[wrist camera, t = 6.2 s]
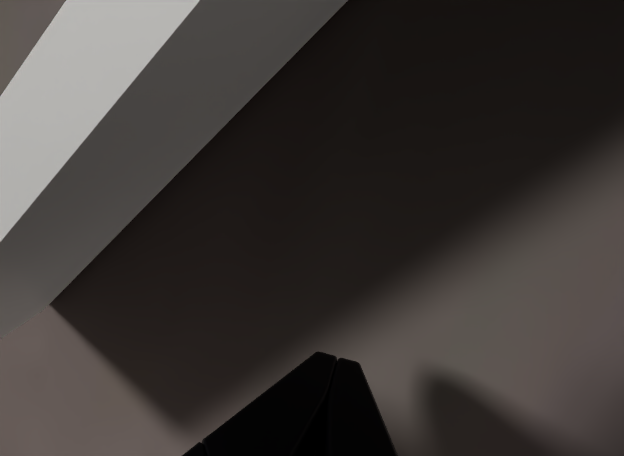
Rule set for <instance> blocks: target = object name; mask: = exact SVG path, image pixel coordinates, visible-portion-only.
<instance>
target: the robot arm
mask: <svg viewBox="0 0 624 456" xmlns="http://www.w3.org/2000/svg"><path fill="white" fill-rule="evenodd" d="M314 455H315V456H398V455H397V452H396V450H395V448H394V445H393V443H392V440H391V438H390V435H389V433H388V431H387V428H386V426H385V423H384V421H383V419H382V416H381V414H380V411H379V409H378V406H377V404H376V402H375V399H374V397H373V394H372V392H371V390H370V387H369V385H368V382H367V380H366V377H365V375H364V373H363V370H362V368H361V365H360V364H359V363H358V362H355V361H352V360H348V359H344V358H339V359H338V361H337V357H336V356H333V355H330V354H326V353H323V352H316V353H314V354H313V355H312V356H310V357H309V358H308V359H307V360H305V361H304V362H303V363H301V364H300V365H299V366H297V367H296V368H295V369H294V370H292V371H291V372H290V373H288V374H287V375H286V376H285V377H283V378H282V379H281V380H279V381H278V382H277V383H276V384H274V385H273V386H272V387H270V388H269V389H268V390H266V391H265V392H264V393H263V394H261V395H260V396H259V397H257V398H256V399H255V400H254V401H252V402H251V403H250V404H248V405H247V406H246V407H245V408H243V409H242V410H241V411H239V412H238V413H237V414H235V415H234V416H233V417H232V418H230V419H229V420H228V421H226V422H225V423H224V424H223V425H221V426H220V427H219V428H217V429H216V430H215V431H213V432H212V433H211V434H210V435H208V436H207V437H206V438H204V439H203V440H202V443H201V442H199V443H198V444H196V445H195V446H194V447H192V448H191V449H190V450H189V451H187V452H186V453H185V454H184V455H182V456H314Z"/></svg>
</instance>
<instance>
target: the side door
mask: <svg viewBox="0 0 624 456" xmlns="http://www.w3.org/2000/svg"><path fill="white" fill-rule="evenodd" d="M347 1H348V0H66V2H65V3H64V4H63V6H62V7H61V9H60V10H59V12H58V13H57V15H56V16H55V18H54V19H53V20H52V22H51V23H50V25H49V26H48V28H47V29H46V31H45V32H44V34H43V35H42V37H41V38H40V39H39V41H38V42H37V44H36V45H35V47H34V48H33V50H32V51H31V53H30V54H29V56H28V57H27V58H26V60H25V61H24V63H23V64H22V66H21V67H20V69H19V70H18V72H17V73H16V75H15V76H14V77H13V79H12V80H11V82H10V83H9V85H8V86H7V88H6V89H5V91H4V92H3V94H2V95H1V96H0V339H2V338H3V337H5V336H6V335H8V334H9V333H11V332H12V331H14V330H15V329H17V328H18V327H20V326H21V325H23V324H24V323H26V322H27V321H28V320H30V319H31V318H33V317H34V316H36V315H37V314H39V313H40V312H42V311H43V310H44V309H45V308H46V307H47V306H48V305H49V304H50V303H51V302H52V301H53V300H54V299H55V298H56V297H57V296H58V295H59V294H60V293H61V292H62V291H63V290H64V289H65V288H66V287H67V286H68V285H69V284H70V283H71V282H72V281H73V280H74V279H75V278H76V277H77V275H78V274H79V273H80V272H81V271H82V270H83V269H84V268H85V267H86V266H87V265H88V264H89V263H90V262H91V261H92V260H93V259H94V258H95V257H96V256H97V255H98V254H99V253H100V252H101V251H102V250H103V249H104V248H105V247H106V246H107V245H108V244H109V243H110V242H111V241H112V240H113V239H114V238H115V237H116V236H117V235H118V234H119V233H120V232H121V231H122V230H123V229H124V228H125V227H126V226H127V225H128V224H129V223H130V222H131V221H132V220H133V219H134V218H135V216H136V215H137V214H138V213H139V212H140V211H141V210H142V209H143V208H144V207H145V206H146V205H147V204H148V203H149V202H150V201H151V200H152V199H153V198H154V197H155V196H156V195H157V194H158V193H159V192H160V191H161V190H162V189H163V188H164V187H165V186H166V185H167V184H168V183H169V182H170V181H171V180H172V179H173V178H174V177H175V176H176V175H177V174H178V173H179V172H180V171H181V170H182V169H183V168H184V167H185V166H186V165H187V164H188V163H189V162H190V161H191V160H192V159H193V157H194V156H195V155H196V154H197V153H198V152H199V151H200V150H201V149H202V148H203V147H204V146H205V145H206V144H207V143H208V142H209V141H210V140H211V139H212V138H213V137H214V136H215V135H216V134H217V133H218V132H219V131H220V130H221V129H222V128H223V127H224V126H225V125H226V124H227V123H228V122H229V121H230V120H231V119H232V118H233V117H234V116H235V115H236V114H237V113H238V112H239V111H240V110H241V109H242V108H243V107H244V106H245V105H246V104H247V103H248V102H249V101H250V100H251V98H252V97H253V96H254V95H255V94H256V93H257V92H258V91H259V90H260V89H261V88H262V87H263V86H264V85H265V84H266V83H267V82H268V81H269V80H270V79H271V78H272V77H273V76H274V75H275V74H276V73H277V72H278V71H279V70H280V69H281V68H282V67H283V66H284V65H285V64H286V63H287V62H288V61H289V60H290V59H291V58H292V57H293V56H294V55H295V54H296V53H297V52H298V51H299V50H300V49H301V48H302V47H303V46H304V45H305V44H306V43H307V42H308V41H309V39H310V38H311V37H312V36H313V35H314V34H315V33H316V32H317V31H318V30H319V29H320V28H321V27H322V26H323V25H324V24H325V23H326V22H327V21H328V20H329V19H330V18H331V17H332V16H333V15H334V14H335V13H336V12H337V11H338V10H339V9H340V8H341V7H342V6H343V5H344V4H345V3H346V2H347Z"/></svg>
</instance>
